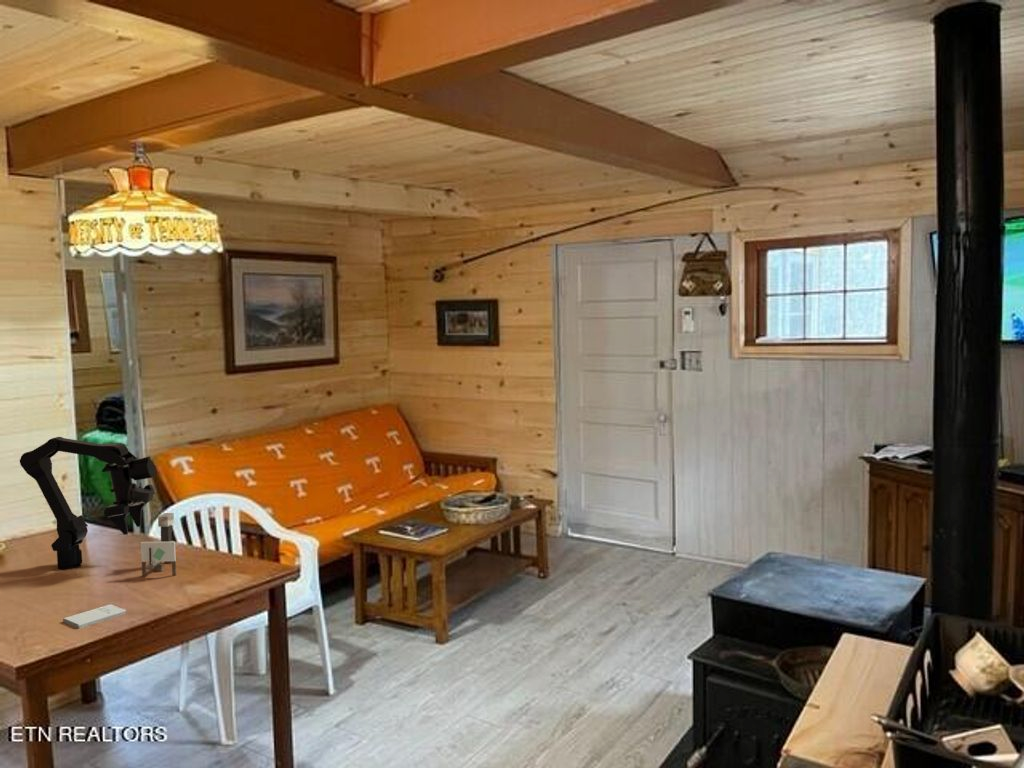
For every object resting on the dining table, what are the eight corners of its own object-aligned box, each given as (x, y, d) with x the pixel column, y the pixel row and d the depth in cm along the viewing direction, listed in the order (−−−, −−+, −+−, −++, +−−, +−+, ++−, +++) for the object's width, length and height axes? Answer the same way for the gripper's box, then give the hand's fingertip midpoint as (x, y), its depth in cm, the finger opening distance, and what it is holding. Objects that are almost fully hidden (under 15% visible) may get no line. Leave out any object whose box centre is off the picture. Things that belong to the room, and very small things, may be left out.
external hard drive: (63, 624, 206) (110, 609, 216) (79, 630, 201) (126, 615, 211) (62, 617, 206) (109, 603, 216) (78, 624, 201) (126, 609, 211)
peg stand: (142, 576, 242) (141, 561, 242) (161, 562, 256) (160, 548, 256) (175, 575, 242) (175, 561, 242) (193, 561, 256) (192, 547, 256)
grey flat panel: (141, 561, 241) (140, 542, 241) (142, 561, 242) (141, 542, 242) (174, 561, 242) (173, 542, 241) (175, 560, 242) (174, 541, 242)
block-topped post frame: (144, 570, 241) (144, 524, 240) (164, 555, 255) (164, 513, 254) (154, 570, 241) (154, 525, 240) (174, 556, 255) (173, 513, 254)
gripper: (134, 484, 242) (145, 534, 243) (159, 472, 260) (169, 518, 262) (98, 491, 241) (109, 540, 243) (125, 478, 260) (135, 524, 261)
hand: (132, 530), depth 252 cm, fingers open, 9 cm apart
